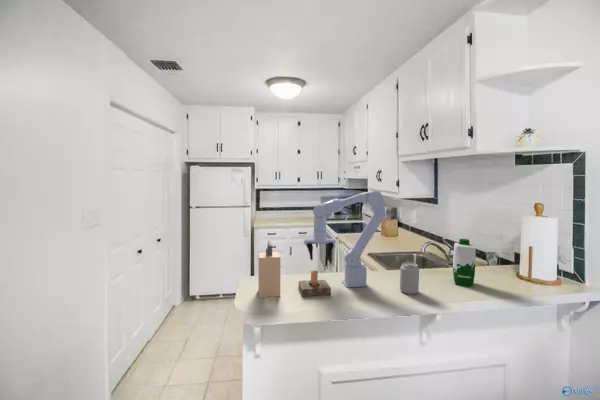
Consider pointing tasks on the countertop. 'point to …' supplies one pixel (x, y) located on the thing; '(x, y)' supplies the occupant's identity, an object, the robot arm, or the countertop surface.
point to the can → (409, 278)
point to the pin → (314, 278)
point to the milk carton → (464, 263)
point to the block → (314, 288)
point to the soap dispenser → (269, 273)
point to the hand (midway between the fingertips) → (319, 259)
